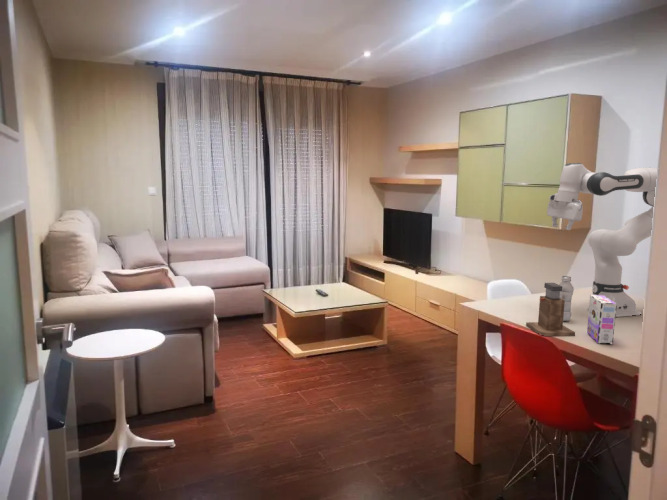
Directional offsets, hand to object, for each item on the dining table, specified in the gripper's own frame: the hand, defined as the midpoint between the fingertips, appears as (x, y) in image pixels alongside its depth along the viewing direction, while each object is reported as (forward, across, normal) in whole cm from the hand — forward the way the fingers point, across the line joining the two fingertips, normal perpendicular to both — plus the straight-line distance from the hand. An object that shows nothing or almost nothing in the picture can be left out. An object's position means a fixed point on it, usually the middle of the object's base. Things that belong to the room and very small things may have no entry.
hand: (561, 228), depth 232 cm
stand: (+41, -25, +15) cm, 51 cm away
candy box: (+40, -38, +2) cm, 55 cm away
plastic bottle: (+40, -14, 0) cm, 42 cm away
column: (+39, -25, +15) cm, 49 cm away
